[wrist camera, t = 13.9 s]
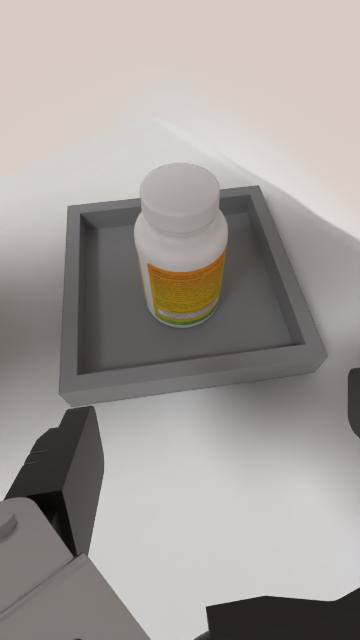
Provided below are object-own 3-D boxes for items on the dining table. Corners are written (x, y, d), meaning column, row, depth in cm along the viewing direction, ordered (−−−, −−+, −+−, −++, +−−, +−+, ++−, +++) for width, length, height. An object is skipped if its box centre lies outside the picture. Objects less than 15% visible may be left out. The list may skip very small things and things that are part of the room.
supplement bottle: (234, 305, 25) (258, 195, 16) (172, 343, 23) (163, 243, 15) (191, 259, 27) (192, 141, 18) (132, 291, 25) (105, 178, 17)
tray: (71, 406, 22) (58, 393, 19) (76, 228, 30) (67, 206, 28) (314, 372, 22) (327, 356, 20) (253, 208, 31) (258, 185, 28)
